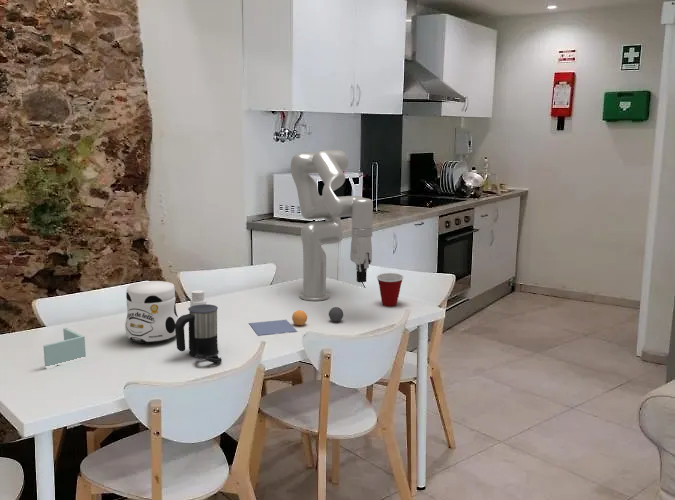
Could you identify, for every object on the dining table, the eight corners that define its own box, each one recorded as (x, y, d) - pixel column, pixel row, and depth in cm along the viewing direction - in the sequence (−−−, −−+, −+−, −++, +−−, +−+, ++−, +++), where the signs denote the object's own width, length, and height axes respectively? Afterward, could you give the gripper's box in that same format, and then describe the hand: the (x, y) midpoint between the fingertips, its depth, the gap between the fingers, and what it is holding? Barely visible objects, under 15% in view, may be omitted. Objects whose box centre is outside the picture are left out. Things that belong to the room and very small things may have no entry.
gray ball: (326, 319, 241) (326, 305, 240) (340, 318, 242) (340, 304, 241) (331, 324, 236) (331, 309, 235) (345, 322, 237) (345, 308, 236)
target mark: (248, 323, 235) (248, 323, 235) (286, 320, 240) (286, 319, 240) (258, 335, 222) (258, 335, 222) (297, 331, 227) (297, 331, 227)
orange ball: (290, 323, 236) (290, 309, 235) (304, 322, 238) (304, 307, 237) (294, 327, 231) (294, 313, 230) (309, 326, 233) (309, 311, 232)
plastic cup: (371, 306, 259) (371, 277, 257) (382, 299, 269) (383, 271, 266) (396, 310, 254) (397, 280, 252) (406, 303, 264) (407, 274, 261)
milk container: (124, 349, 207) (121, 294, 204) (126, 332, 223) (124, 281, 220) (180, 345, 212) (178, 291, 208) (178, 328, 228) (176, 279, 224)
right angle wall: (67, 350, 206) (65, 327, 205) (86, 360, 199) (84, 336, 197) (29, 360, 198) (27, 336, 196) (46, 370, 190) (45, 346, 188)
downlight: (205, 321, 237) (205, 294, 236) (186, 320, 237) (185, 293, 236) (210, 315, 245) (209, 289, 243) (191, 315, 245) (191, 289, 244)
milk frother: (203, 346, 211) (202, 302, 208) (241, 355, 203) (240, 310, 200) (171, 359, 199) (169, 312, 196) (210, 370, 191) (209, 321, 188)
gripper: (344, 230, 241) (344, 278, 245) (360, 236, 228) (359, 287, 231) (363, 229, 244) (363, 276, 247) (379, 235, 230) (379, 285, 233)
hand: (361, 281), depth 239 cm, fingers closed
